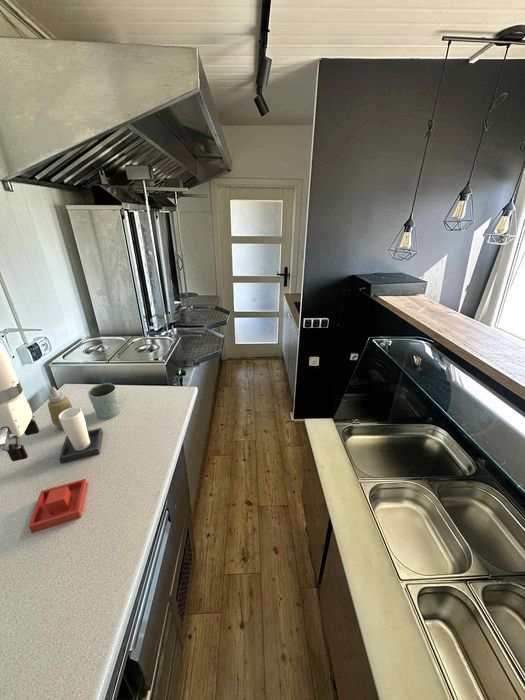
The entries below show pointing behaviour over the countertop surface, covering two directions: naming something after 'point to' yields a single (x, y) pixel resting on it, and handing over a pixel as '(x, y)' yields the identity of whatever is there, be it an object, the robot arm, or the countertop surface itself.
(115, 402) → the green pot
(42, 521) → the red tray
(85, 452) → the graphite tray
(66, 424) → the drinking glass
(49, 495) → the red block
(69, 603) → the countertop surface
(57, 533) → the countertop surface
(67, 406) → the squeeze bottle
